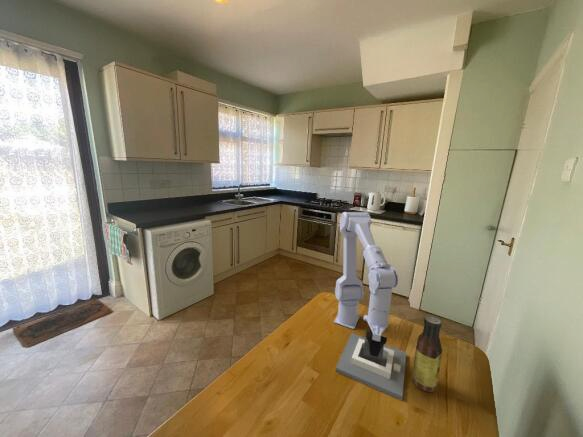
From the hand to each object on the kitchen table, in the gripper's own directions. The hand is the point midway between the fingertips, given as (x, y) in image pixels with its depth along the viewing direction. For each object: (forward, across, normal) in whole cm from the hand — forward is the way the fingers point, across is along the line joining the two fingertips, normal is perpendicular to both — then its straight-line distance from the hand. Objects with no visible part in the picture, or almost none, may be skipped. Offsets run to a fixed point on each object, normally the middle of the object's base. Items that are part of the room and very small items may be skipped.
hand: (374, 346), depth 73 cm
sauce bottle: (+6, +2, +14) cm, 15 cm away
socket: (+6, 0, 0) cm, 6 cm away
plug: (+5, 0, 0) cm, 5 cm away
